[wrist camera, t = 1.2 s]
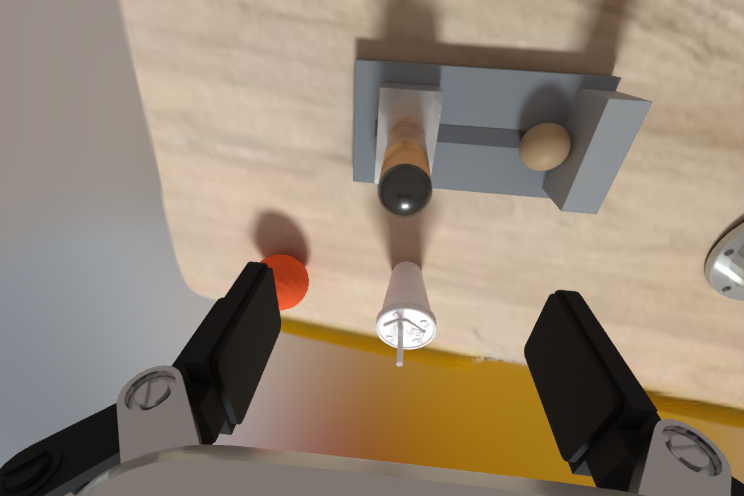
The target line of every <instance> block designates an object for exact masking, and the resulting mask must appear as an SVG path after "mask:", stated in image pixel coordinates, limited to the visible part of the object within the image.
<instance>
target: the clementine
mask: <svg viewBox="0 0 744 496" xmlns="http://www.w3.org/2000/svg"><path fill="white" fill-rule="evenodd" d="M260 263H267V265H268V268H272V269H273V273H274V279H275V285H276V292H277V298H278V305H279V310H285V309H290V308H292V307H294V306H295V305H297V304H298V303H299V302H300V301H301V300H302V299H303V298H304V296H305V294H306V292H307V290H308V285H309V278H308V273H307V270H306V268H305V267H304V265H303V264H302V263H301V262H300V261H299V260H297V259H296V258H294V257H292V256H289V255H285V254H276V255H272V256H269V257H267V258H265V259H263V260H262V261H261V262H260Z"/></svg>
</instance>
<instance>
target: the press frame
mask: <svg viewBox="0 0 744 496" xmlns="http://www.w3.org/2000/svg"><path fill="white" fill-rule="evenodd" d="M620 80H621V78H620V77H616V76H609V75H594V74H579V73H564V72H549V71H534V70H519V69H504V68H489V67H474V66H459V65H444V64H429V63H414V62H399V61H384V60H369V59H356V60H355V106H354V158H353V181H356V182H368V183H374V181H375V163H376V146H377V129H378V112H379V95H380V87H381V85H382V83H383V82H388V83H402V84H416V85H431V86H441V87H442V89H443V91H444V98H443V104H442V110H441V117H440V123H439V129H438V135H437V141H436V148H435V154H434V160H433V166H432V173H431V181H432V188H437V189H449V190H460V191H472V192H483V193H495V194H506V195H518V196H530V197H541V198H551V199H552V201H553V202H554V203H555V204H556V205H557V207H558V208H559V209H560V210H561V211H566V212H577V213H589V214H597V213H598V211H599V209H600V207H601V205H602V203H603V201H604V199H605V197H606V195H607V193H608V191H609V189H610V187H611V185H612V183H613V181H614V179H615V177H616V175H617V173H618V171H619V169H620V167H621V165H622V163H623V161H624V159H625V157H626V155H627V153H628V151H629V149H630V147H631V145H632V143H633V141H634V138H635V136H636V134H637V132H638V130H639V128H640V126H641V124H642V122H643V120H644V118H645V116H646V114H647V112H648V110H649V108H650V106H651V104H652V101H648V100H645V99H641V98H638V97H634V96H631V95H627V94H624V93H620V92H617V91H616V89H617V87H618V84H619V82H620Z"/></svg>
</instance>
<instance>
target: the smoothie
mask: <svg viewBox="0 0 744 496" xmlns="http://www.w3.org/2000/svg"><path fill="white" fill-rule="evenodd" d="M436 325H437V322H436V318H435V316H434V314H433V312H432V311H431V309H430V305H429V301H428V297H427V293H426V289H425V285H424V281H423V277H422V273H421V269H420V267H419V266H418V265H417V264H415V263H413V262H410V261H403V262H400V263H398V264H397V265H395V267H394V268H393V271H392V274H391V278H390V282H389V285H388V289H387V293H386V296H385V300H384V303H383V307H382V310H381V311H380V312H379V314H378V316H377V320H376V331H377V334H378V336H379V337H380V338H381V339H382V340H383V341H384V342H385V343H387V344H388V345H390V346H393V347H396V348H397V365H398V366H402V365H403V349H416V348H420V347H422V346H425V345H426V344H428V343H429V342H431V341H432V339H433V338H434V337H435V334H436Z"/></svg>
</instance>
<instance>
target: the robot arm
mask: <svg viewBox="0 0 744 496" xmlns="http://www.w3.org/2000/svg"><path fill="white" fill-rule="evenodd" d="M705 276H706V279H707V282H708V283H709V284H710V286H711V287H712V288H714V289H715V290H716V291H717V292H718V293H720V294H721V295H723V296H725V297H727V298H731V299H735V300H741V301H744V222H743V223H741V224H740V225H739V226H737V227H736V228H734V229H733V230H732V231H730V232H729V233H728V234H727V235H726V236H725V237H724V238H722V239H721V240H720V242H719V243H718V244H717V245H716V246H715V248H714V249H713V250H712V252H711V254H710V255H709V257H708V259H707V262H706V266H705ZM280 329H281V318H280V311H279V305H278V298H277V292H276V285H275V279H274V273H273V269H272V268H268V265H267V263H260V262H248V263H247V265H246V266H245V268H244V269H243V271H242V272H241V274H240V275H239V277H238V278H237V279H236V281H235V282H234V284H233V285H232V287H231V288H230V290H229V291H228V293H227V294H226V296H225V297H224V298H220V299H218V300H217V302H216V303H215V304H214V306H213V307H212V308H211V310H210V311H209V313H208V314H207V316H206V317H205V319H204V320H203V321H202V323H201V324H200V326H199V327H198V329H197V330H196V332H195V333H194V334H193V336H192V337H191V339H190V340H189V342H188V343H187V345H186V346H185V347H184V349H183V350H182V352H181V353H180V355H179V356H178V357H177V359H176V361H175V362H174V363H173V365H172V366H157V367H153V368H150V369H147V370H145V371H143V372H141V373H139V374H138V375H136V376H135V377H134V378H132V379H131V380H130V381H129V382H128V383H127V384H126V385H125V386H124V387H123V389H122V390H121V392H120V394H119V396H118V400H117V403H115V404H113V405H111V406H109V407H107V408H106V409H104V410H102V411H99V412H98V413H95V414H94V415H91V416H89V417H88V418H85V419H83V420H81V421H80V422H77V423H75V424H73V425H71V426H69V427H67V428H65V429H63V430H61V431H59V432H57V433H55V434H53V435H51V436H49V437H47V438H45V439H43V440H41V441H39V442H37V443H35V444H33V445H31V446H30V447H28V448H26V449H24V450H23V451H21V452H19V453H18V454H16V455H15V456H14V457H13V458H11V459H10V460H9V461H8V462H6V463H5V464H4V465H3V466H2V467H1V469H0V496H744V484H743V483H741V482H740V481H738V480H737V479H735V478H734V477H732V476H731V475H732V474H731V469H730V465H729V463H728V461H727V459H726V457H725V455H724V454H723V453H722V452H721V450H720V449H719V448H718V447H717V446H716V445H715V444H714V443H713V442H712V441H711V440H710V439H709V438H708V437H707V436H705V435H704V434H702V433H701V432H700V431H698V430H697V429H695V428H693V427H691V426H689V425H687V424H685V423H683V422H680V421H676V420H673V419H671V420H670V419H664V420H661V419H660V417H659V416H658V414H657V409H656V408H655V406H654V405H653V403H652V401H651V400H650V398H649V397H648V395H647V394H646V392H645V391H644V389H643V388H642V386H641V385H640V383H639V382H638V380H637V379H636V377H635V376H634V374H633V373H632V371H631V370H630V368H629V367H628V365H627V364H626V362H625V361H624V359H623V358H622V356H621V355H620V353H619V352H618V350H617V349H616V347H615V346H614V344H613V343H612V341H611V340H610V338H609V337H608V335H607V334H606V332H605V331H604V329H603V328H602V326H601V325H600V323H599V322H598V320H597V319H596V317H595V316H594V314H593V313H592V311H591V310H590V308H589V307H588V305H587V304H586V302H585V301H584V299H583V298H582V296H581V295H580V294H579V292H576V291H566V290H557V291H556V292H555V293H554V294H550V296H549V297H548V299H547V301H546V303H545V305H544V308H543V310H542V312H541V314H540V316H539V318H538V320H537V322H536V324H535V326H534V328H533V330H532V332H531V335H530V337H529V339H528V341H527V343H526V345H525V348H524V355H525V359H526V361H527V364H528V367H529V369H530V372H531V375H532V378H533V380H534V383H535V386H536V388H537V391H538V394H539V396H540V399H541V402H542V405H543V407H544V410H545V413H546V415H547V418H548V421H549V424H550V427H551V429H552V432H553V435H554V437H555V440H556V443H557V446H558V448H559V451H560V454H561V456H562V458H563V459H564V460H565V461H567V462H568V463H569V466H570V468H571V471H572V473H573V474H577V475H587V476H592V477H593V480H594V482H595V484H596V487H590V486H583V485H575V484H568V483H561V482H553V481H545V480H537V479H528V478H520V477H512V476H504V475H495V474H487V473H479V472H470V471H462V470H452V469H445V468H435V467H427V466H419V465H409V464H401V463H393V462H383V461H374V460H366V459H358V458H349V457H339V456H330V455H321V454H312V453H303V452H294V451H285V450H274V449H262V448H251V447H241V446H227V445H226V446H225V445H213V443H214V442H216V440H217V438H218V435H219V433H220V434H228V435H232V433H233V430H234V428H235V426H236V424H241V423H242V421H243V419H244V417H245V415H246V412H247V410H248V407H249V405H250V402H251V400H252V398H253V396H254V393H255V391H256V388H257V386H258V383H259V381H260V379H261V376H262V374H263V371H264V369H265V367H266V364H267V362H268V359H269V357H270V354H271V352H272V350H273V347H274V345H275V342H276V339H277V337H278V335H279V333H280Z"/></svg>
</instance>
